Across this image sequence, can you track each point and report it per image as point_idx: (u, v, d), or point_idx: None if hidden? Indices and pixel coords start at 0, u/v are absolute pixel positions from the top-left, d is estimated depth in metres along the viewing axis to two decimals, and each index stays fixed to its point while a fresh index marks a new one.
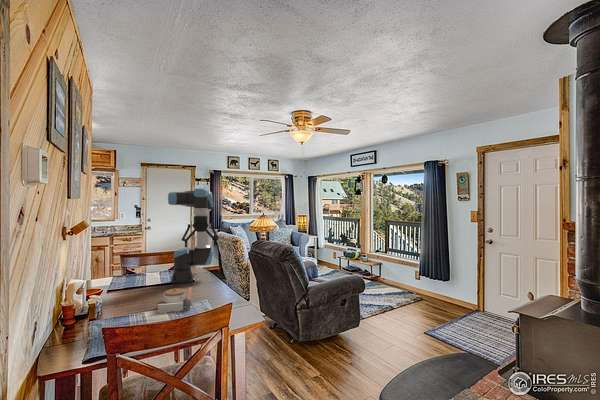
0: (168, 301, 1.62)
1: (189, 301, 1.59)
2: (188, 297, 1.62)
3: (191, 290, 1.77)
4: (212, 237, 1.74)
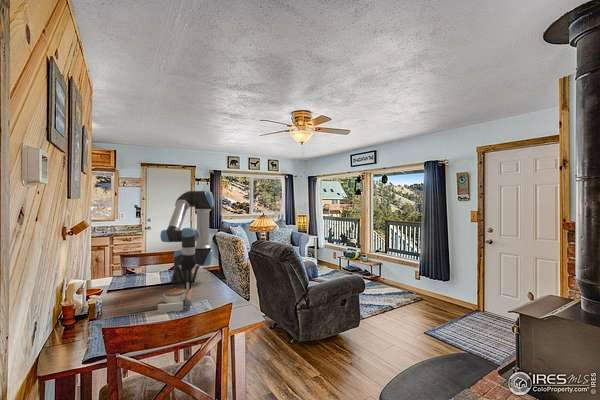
0: (168, 301, 1.62)
1: (189, 301, 1.59)
2: (188, 297, 1.62)
3: (191, 290, 1.77)
4: (190, 279, 1.77)
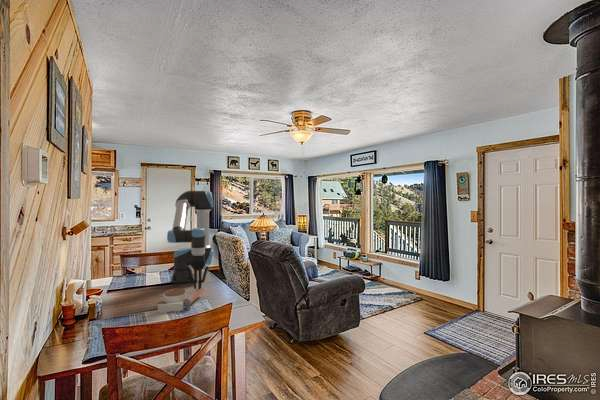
0: (168, 301, 1.62)
1: (188, 301, 1.58)
2: (190, 297, 1.63)
3: (201, 290, 1.78)
4: (199, 279, 1.77)
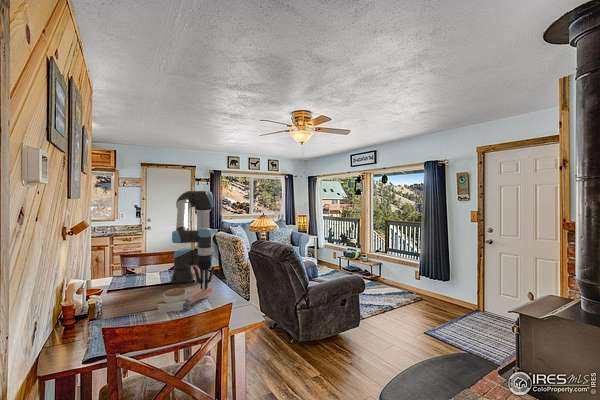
0: (168, 301, 1.62)
1: (188, 301, 1.58)
2: (191, 297, 1.62)
3: (207, 290, 1.77)
4: (205, 279, 1.77)
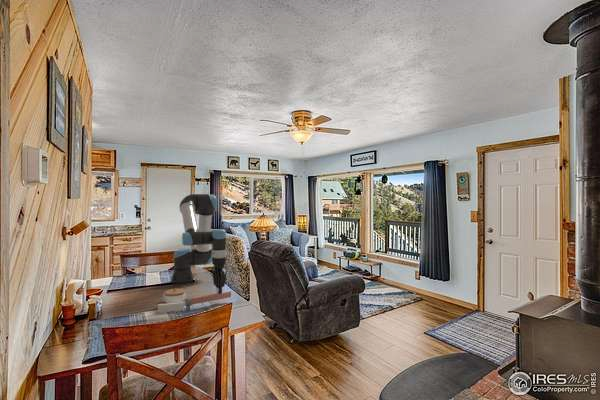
0: (168, 301, 1.62)
1: (186, 301, 1.58)
2: (193, 298, 1.61)
3: (222, 294, 1.70)
4: (218, 283, 1.69)
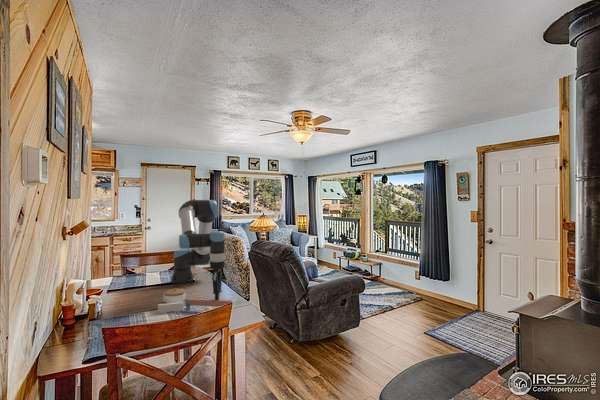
0: (168, 301, 1.62)
1: (185, 301, 1.59)
2: (193, 299, 1.59)
3: (221, 302, 1.57)
4: None
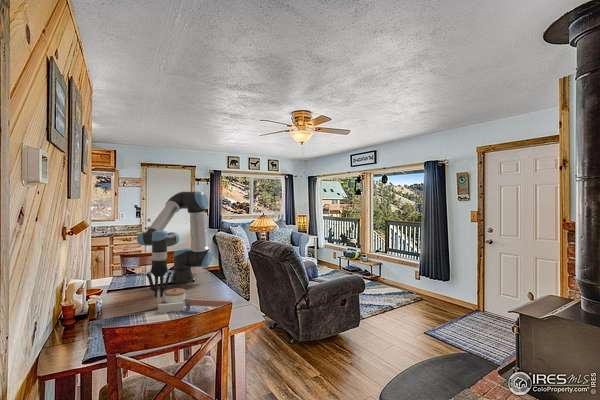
0: (168, 301, 1.62)
1: (185, 301, 1.59)
2: (193, 299, 1.59)
3: (221, 302, 1.57)
4: (161, 286, 1.63)
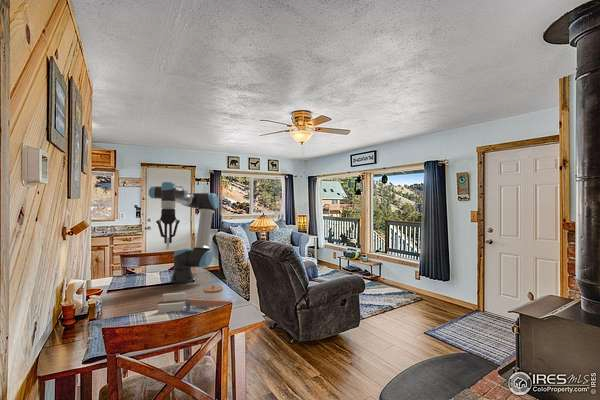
0: (208, 298, 1.67)
1: (185, 301, 1.59)
2: (193, 299, 1.59)
3: (221, 302, 1.57)
4: (170, 233, 1.76)
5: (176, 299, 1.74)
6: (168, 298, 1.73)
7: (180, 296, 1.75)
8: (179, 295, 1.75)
